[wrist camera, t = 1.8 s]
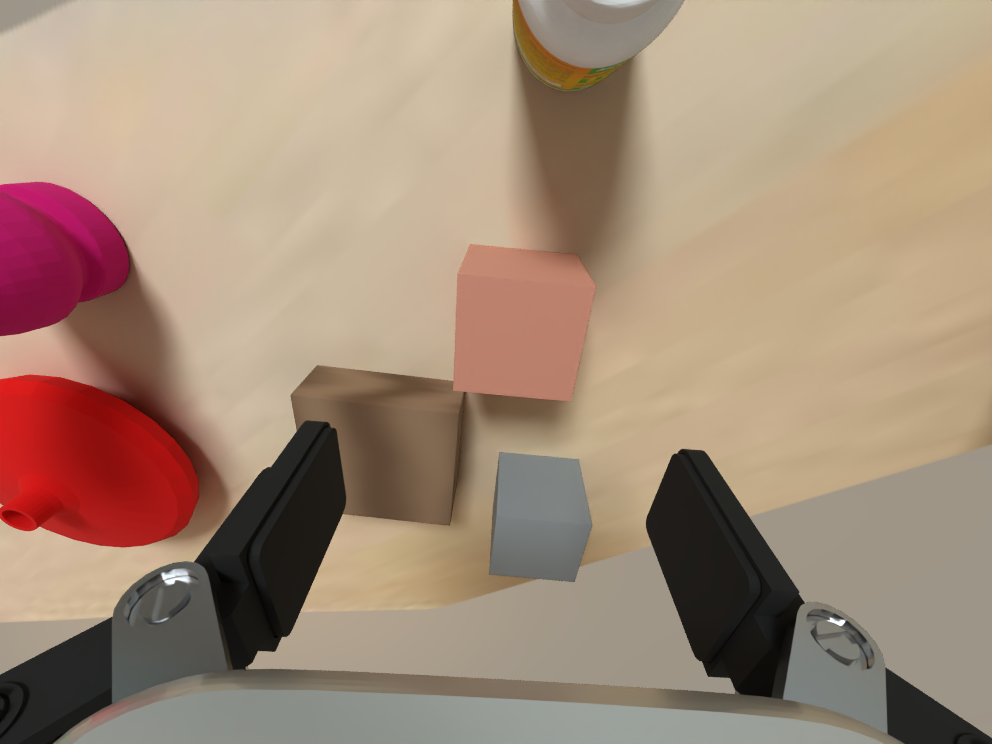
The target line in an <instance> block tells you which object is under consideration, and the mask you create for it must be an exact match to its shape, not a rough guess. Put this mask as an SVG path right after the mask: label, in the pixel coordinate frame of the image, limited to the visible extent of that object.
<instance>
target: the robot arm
mask: <svg viewBox="0 0 992 744" xmlns="http://www.w3.org/2000/svg"><path fill="white" fill-rule="evenodd" d="M345 506H346V491H345V484H344V477H343V470H342V463H341V457H340V450H339V443H338V436H337V431H336V429H335V428H331V427H330V424H329V422H322V421H309V420H307V421H305V422H304V423H303V424H302V425H301V426H300V428H299V429H298V431H297V432H296V433H295V435H294V436H293V438H292V439H291V440H290V442H289V443H288V444H287V446H286V447H285V449H284V450H283V451H282V453H281V454H280V456H279V457H278V458H277V460H276V461H275V462H274V464H273V465H272V467H268V468H266V469H264V470H263V471H262V472H261V473H260V474H259V475H258V477H257V478H256V479H255V481H254V482H253V483H252V485H251V486H250V487H249V489H248V490H247V491H246V493H245V494H244V495H243V497H242V498H241V500H240V501H239V502H238V504H237V505H236V506H235V508H234V509H233V510H232V512H231V513H230V514H229V516H228V517H227V518H226V520H225V521H224V522H223V524H222V525H221V526H220V528H219V529H218V530H217V532H216V533H215V535H214V536H213V537H212V539H211V540H210V541H209V543H208V544H207V545H206V547H205V548H204V549H203V551H202V552H201V553H200V555H199V556H198V557H197V559H196V560H195V561H194V562H188V561H185V562H177V563H172V564H169V565H166V566H163V567H160V568H158V569H156V570H154V571H152V572H150V573H148V574H147V575H145V576H144V577H142V578H141V579H140V580H138V581H137V582H136V583H134V584H133V585H132V586H131V587H130V588H129V589H128V590H127V591H126V592H125V593H124V594H123V595H122V597H121V598H120V600H119V602H118V603H117V605H116V607H115V608H114V613H113V617H111V618H109V619H107V620H105V621H103V622H101V623H99V624H97V625H96V626H94V627H92V628H90V629H88V630H86V631H84V632H82V633H80V634H78V635H76V636H74V637H73V638H70V639H68V640H67V641H65V642H63V643H61V644H59V645H57V646H55V647H53V648H51V649H49V650H47V651H45V652H43V653H41V654H39V655H38V656H36V657H34V658H32V659H30V660H28V661H26V662H24V663H22V664H20V665H18V666H16V667H14V668H12V669H11V670H9V671H7V672H5V673H3V674H1V675H0V744H992V738H991V737H989V736H988V735H986V734H984V733H983V732H982V731H980V730H979V729H977V728H976V727H974V726H973V725H971V724H970V723H968V722H967V721H965V720H963V719H962V718H960V717H959V716H958V715H956V714H954V713H953V712H952V711H950V710H949V709H947V708H946V707H944V706H943V705H941V704H940V703H938V702H937V701H935V700H934V699H932V698H931V697H929V696H928V695H926V694H925V693H923V692H922V691H920V690H919V689H917V688H916V687H914V686H913V685H911V684H909V683H908V682H907V681H905V680H904V679H902V678H901V677H899V676H898V675H896V674H895V673H893V672H892V671H890V670H889V669H887V668H886V667H885V663H884V658H883V655H882V653H881V651H880V649H879V647H878V646H877V644H876V642H875V641H874V640H873V638H872V637H871V636H870V635H869V634H868V632H867V631H866V630H864V628H863V627H861V626H860V625H859V624H858V623H857V622H856V621H855V620H854V619H852V618H851V617H849V616H848V615H846V614H845V613H843V612H842V611H840V610H838V609H836V608H834V607H832V606H830V605H827V604H823V603H819V602H807V603H804V601H803V600H802V598H801V597H800V595H799V594H798V593H799V591H798V589H797V588H796V586H795V585H794V583H793V582H792V580H791V579H790V577H789V576H788V574H787V573H786V571H785V570H784V569H783V567H782V565H781V564H780V562H779V561H778V559H777V558H776V556H775V555H774V553H773V552H772V550H771V549H770V548H769V546H768V545H767V543H766V541H765V540H764V538H763V537H762V536H761V534H760V533H759V531H758V530H757V528H756V526H755V525H754V524H753V522H752V521H751V519H750V518H749V516H748V515H747V513H746V512H745V510H744V509H743V507H742V506H741V504H740V503H739V501H738V500H737V498H736V497H735V495H734V494H733V492H732V491H731V489H730V488H729V486H728V485H727V483H726V482H725V480H724V479H723V477H722V476H721V474H720V473H719V471H718V470H717V468H716V467H715V465H714V464H713V462H712V461H711V459H710V458H709V456H708V455H707V454H706V453H705V452H704V451H702V450H689V449H681V450H680V451H679V452H678V453H677V454H673V455H672V457H671V459H670V462H669V464H668V467H667V469H666V472H665V474H664V477H663V479H662V482H661V484H660V486H659V489H658V491H657V494H656V496H655V499H654V501H653V504H652V506H651V508H650V511H649V513H648V516H647V519H646V529H647V532H648V535H649V538H650V540H651V543H652V546H653V548H654V551H655V553H656V556H657V559H658V561H659V564H660V566H661V569H662V572H663V575H664V577H665V580H666V582H667V585H668V587H669V590H670V593H671V596H672V598H673V601H674V604H675V606H676V608H677V611H678V614H679V616H680V619H681V622H682V625H683V627H684V630H685V633H686V635H687V638H688V640H689V643H690V646H691V648H692V651H693V653H694V655H695V657H696V658H697V659H698V660H699V661H702V663H703V665H704V668H705V670H706V673H707V675H708V677H725V678H730V679H731V681H732V683H733V686H734V688H735V690H736V691H735V694H726V693H714V692H701V691H688V690H672V689H671V690H670V689H656V688H640V687H622V686H607V685H591V684H573V683H556V682H539V681H538V682H537V681H521V680H503V679H485V678H467V677H449V676H429V675H409V674H389V673H370V672H350V671H321V670H320V671H319V670H289V669H252V670H251V669H250V670H249V669H248V665H250V664H251V663H252V662H253V660H254V658H255V656H256V654H257V652H258V651H272V652H274V651H276V649H277V647H278V644H279V642H280V640H281V638H282V637H287V636H288V635H289V634H290V633H291V631H292V629H293V627H294V625H295V622H296V620H297V618H298V615H299V613H300V611H301V608H302V606H303V604H304V602H305V599H306V597H307V595H308V592H309V590H310V588H311V585H312V583H313V581H314V579H315V576H316V574H317V572H318V569H319V567H320V565H321V562H322V560H323V558H324V556H325V553H326V551H327V549H328V546H329V544H330V542H331V539H332V537H333V535H334V533H335V530H336V528H337V526H338V523H339V521H340V519H341V516H342V514H343V512H344V509H345Z"/></svg>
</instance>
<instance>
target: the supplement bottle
mask: <svg viewBox="0 0 992 744" xmlns="http://www.w3.org/2000/svg"><path fill="white" fill-rule="evenodd" d="M683 2H684V0H513V29H514V35H515V40H516V44H517V47H518V50H519V53H520V55H521V57H522V59H523V61H524V63H525V65H526V66H527V68H528V69H529V70H530V72H531V73H532V74H533V75H534V76H535V77H536V78H537V79H538V80H539V81H541V82H542V83H544V84H545V85H547V86H549V87H551V88H554V89H557V90H561V91H578V90H583V89H586V88H589V87H591V86H593V85H595V84H597V83H599V82H600V81H602V80H604V79H605V78H606V77H608V76H609V75H610V74H611V73H613V72H614V71H615V70H617V69H618V68H619V67H620V66H622V65H623V64H624V63H626V62H627V61H628V60H630V59H631V58H632V57H634V56H635V55H636V54H638V53H639V52H641V51H642V50H643V49H644V48H646V47H647V46H648V45H649V44H650V43H651V42H653V41H654V40H655V39H656V38H657V37H658V36H659V35H660V34H661V33H662V31H663V30H664V29H665V28H666V27H667V26H668V24H669V23H670V22H671V20H672V19H673V18H674V16H675V15H676V13H677V12H678V10H679V9H680V7H681V5H682V4H683Z"/></svg>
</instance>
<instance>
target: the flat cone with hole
mask: <svg viewBox="0 0 992 744" xmlns="http://www.w3.org/2000/svg"><path fill="white" fill-rule="evenodd" d="M198 499H199V481H198V478H197V475H196V473H195V471H194V468H193V466H192V463H191V461H190V459H189V458H188V457H187V455H186V454H185V453H184V451H183V450H182V449H181V447H180V446H179V445H178V443H177V442H176V441H175V440H174V439H173V438H172V437H171V436H170V435H169V434H168V433H167V432H166V431H165V430H164V429H162V428H161V427H160V426H159V425H158V424H157V423H156V422H155V421H154V420H153V419H151V418H149V417H148V416H146V415H145V414H143V413H142V412H140V411H139V410H137V409H136V408H134V407H133V406H131V405H130V404H128V403H127V402H125V401H123V400H121V399H119V398H117V397H114V396H112V395H110V394H108V393H106V392H104V391H101V390H99V389H97V388H95V387H93V386H89V385H86V384H82V383H79V382H75V381H71V380H68V379H64V378H61V377H51V376H40V375H24V376H18V377H12V378H6V379H0V503H1V504H2V505H4V506H2V507H1V508H0V519H1V520H2V521H4V522H5V523H6V524H8V525H9V526H11V527H14V528H16V529H19V530H23V531H33V530H35V529H37V528H38V527H39V526H40V527H42V528H44V529H46V530H49V531H52V532H54V533H57V534H60V535H63V536H65V537H68V538H71V539H74V540H78V541H82V542H87V543H91V544H95V545H100V546H112V547H133V546H144V545H148V544H151V543H155V542H158V541H161V540H164V539H166V538H169V537H172V536H175V535H176V534H177V533H178V532H180V531H181V530H182V529H183V528H184V527H186V526H187V525H188V523H189V520H190V518H191V516H192V514H193V511H194V509H195V506H196V504H197V501H198Z"/></svg>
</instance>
